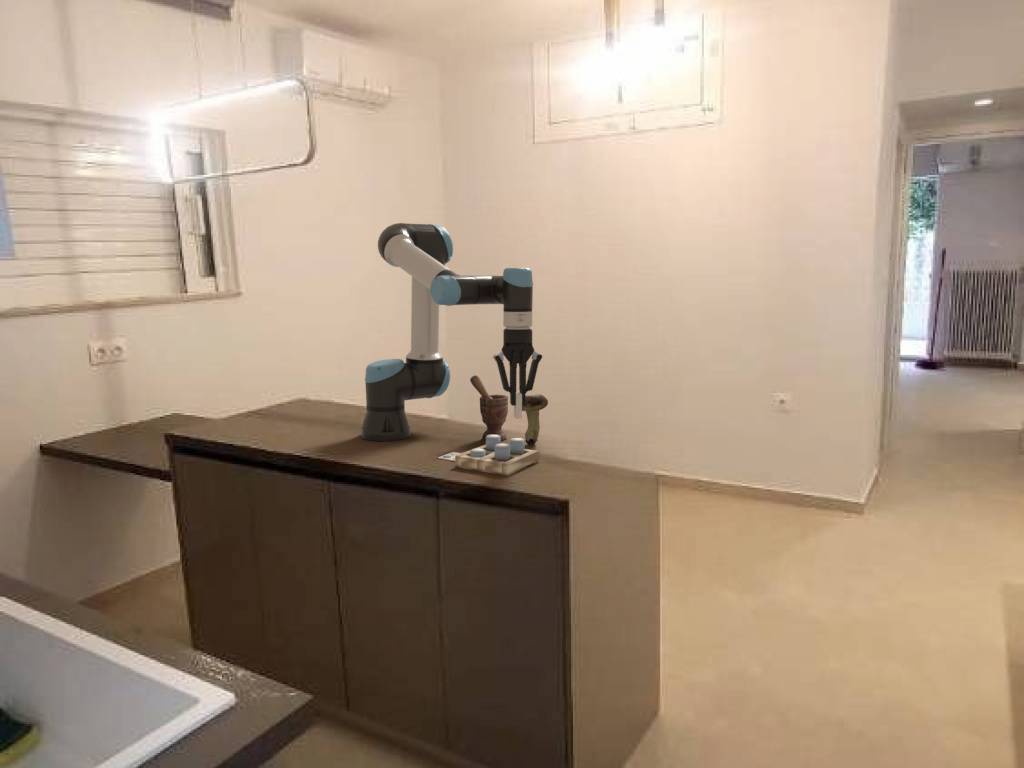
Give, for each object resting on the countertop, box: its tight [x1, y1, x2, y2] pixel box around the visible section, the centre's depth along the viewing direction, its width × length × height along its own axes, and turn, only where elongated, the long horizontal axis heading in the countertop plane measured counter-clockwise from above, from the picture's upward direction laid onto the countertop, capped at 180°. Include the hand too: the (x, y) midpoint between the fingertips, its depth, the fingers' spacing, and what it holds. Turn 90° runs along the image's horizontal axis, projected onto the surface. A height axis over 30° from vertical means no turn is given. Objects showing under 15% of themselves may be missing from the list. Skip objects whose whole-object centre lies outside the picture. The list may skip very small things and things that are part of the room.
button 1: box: [469, 447, 486, 458], centre depth 188 cm, size 4×4×4 cm
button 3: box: [494, 443, 510, 461], centre depth 184 cm, size 4×4×4 cm
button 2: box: [485, 435, 502, 451], centre depth 194 cm, size 4×4×4 cm
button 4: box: [509, 437, 526, 455], centre depth 190 cm, size 4×4×4 cm
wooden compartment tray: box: [454, 444, 540, 477], centre depth 189 cm, size 16×16×3 cm
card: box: [437, 451, 463, 462], centre depth 196 cm, size 7×7×1 cm
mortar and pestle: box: [469, 374, 509, 441], centre depth 216 cm, size 12×9×20 cm
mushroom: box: [522, 393, 549, 446], centre depth 210 cm, size 9×9×15 cm
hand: (517, 417), depth 189 cm, fingers closed
